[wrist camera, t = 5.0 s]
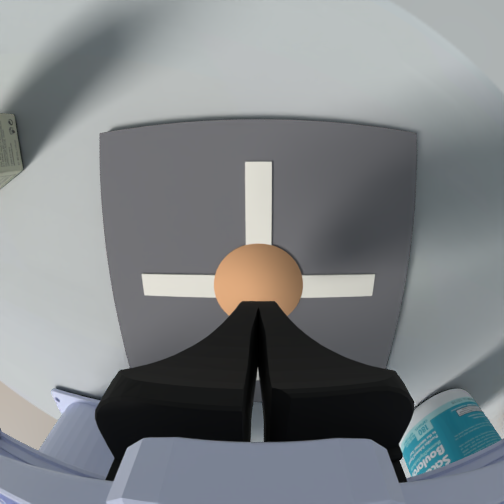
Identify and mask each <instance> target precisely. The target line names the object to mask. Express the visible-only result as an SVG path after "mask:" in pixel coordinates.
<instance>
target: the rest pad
mask: <svg viewBox="0 0 504 504" xmlns="http://www.w3.org/2000/svg"><path fill="white" fill-rule="evenodd" d="M416 167H417V136H416V133H413V132H407V131H401V130H395V129H389V128H382V127H374V126H366V125H357V124H348V123H337V122H324V121H308V120H283V119H235V120H210V121H194V122H181V123H170V124H160V125H152V126H143V127H136V128H129V129H122V130H116V131H110V132H104V133H100V182H101V200H102V213H103V224H104V234H105V243H106V251H107V258H108V265H109V272H110V278H111V284H112V290H113V296H114V301H115V306H116V311H117V316H118V321H119V325H120V330H121V334H122V338H123V343H124V347H125V351H126V355H127V358H128V362H129V366H130V368H134V367H138V366H142V365H147V364H150V363H154V362H157V361H160V360H163V359H165V358H168V357H170V356H173V355H175V354H177V353H179V352H181V351H183V350H185V349H187V348H189V347H191V346H193V345H195V344H197V343H198V342H200V341H201V340H203V339H204V338H206V337H207V336H208V335H210V334H211V333H212V332H213V331H214V330H215V329H217V328H218V327H219V326H220V325H221V324H222V323H223V322H224V321H225V320H226V319H227V318H228V317H229V316H230V314H231V313H232V312H233V311H234V310H235V309H236V307H237V306H238V305H239V303H240V302H242V301H275V302H276V303H277V304H278V305H279V307H280V308H281V309H282V310H283V312H284V313H285V314H286V315H287V316H288V318H289V319H290V320H291V321H292V322H293V323H294V324H295V325H296V326H297V327H298V328H299V329H301V330H302V331H303V332H304V333H305V334H306V335H308V336H309V337H310V338H312V339H313V340H315V341H316V342H318V343H319V344H321V345H322V346H324V347H326V348H328V349H330V350H332V351H334V352H336V353H338V354H340V355H342V356H344V357H347V358H349V359H352V360H355V361H357V362H360V363H363V364H366V365H370V366H374V367H379V368H383V369H386V366H387V362H388V358H389V355H390V351H391V347H392V343H393V339H394V335H395V331H396V327H397V322H398V318H399V313H400V308H401V303H402V298H403V293H404V288H405V282H406V276H407V270H408V263H409V256H410V248H411V240H412V231H413V221H414V209H415V193H416ZM253 402H262V397H261V389H260V381H259V372H258V371H257V378H256V386H255V393H254V400H253Z"/></svg>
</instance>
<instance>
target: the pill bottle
mask: <svg viewBox="0 0 504 504" xmlns="http://www.w3.org/2000/svg"><path fill="white" fill-rule="evenodd" d="M500 440H502V439H501V438H500V436H499V435H498V433H497V432H496V430H495V429H494V427H493V426H492V424H491V423H490V421H489V420H488V418H487V417H486V416H485V414H484V413H483V411H482V410H481V409H480V407H479V406H478V404H477V403H476V402H475V400H474V399H473V398H472V396H471V395H470V394H469V393H468V392H467V391H465V390H463V389H450V390H447V391H444V392H441V393H439V394H437V395H435V396H433V397H431V398H430V399H428V400H426V401H425V402H424V403H422V404H421V405H420V406H418V407H417V408H416V409H415V410H414V413H413V416H412V419H411V421H410V423H409V426H408V428H407V430H406V431H405V433H404V435H403V437H402V439H401V441H400V443H399V446H400V448H401V451H402V453H403V457H404V459H405V462H406V464H407V467H408V469H409V472H410V474H411V477H413V476H416V475H419V474H423V473H426V472H429V471H431V470H434V469H437V468H440V467H443V466H445V465H448V464H450V463H453V462H455V461H458V460H460V459H463V458H465V457H467V456H470V455H472V454H474V453H476V452H478V451H480V450H483V449H485V448H487V447H489V446H491V445H493V444H495V443H497V442H498V441H500Z"/></svg>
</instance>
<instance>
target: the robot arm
mask: <svg viewBox="0 0 504 504" xmlns="http://www.w3.org/2000/svg"><path fill="white" fill-rule="evenodd" d="M257 371H258V372H259V381H260V389H261V397H262V406H263V416H264V442H250V439H251V416H252V407H253V400H254V393H255V386H256V378H257ZM51 394H52V396H53V398H54V400H55V402H56V404H57V406H58V408H59V410H60V412H61V414H62V415H61V417H60V418H59V420H58V421H57V423H56V424H55V426H54V427H53V429H52V430H51V432H50V433H49V435H48V436H47V438H46V439H45V441H44V442H43V444H42V446H41V447H40V449H39V450H36V449H34V448H32V447H29V446H28V445H26V444H24V443H22V442H20V441H18V440H16V439H14V438H12V437H10V436H9V435H7V434H5V433H3V432H2V431H1V429H0V504H504V439H502V440H500V441H498V442H497V443H495V444H493V445H491V446H489V447H487V448H485V449H483V450H480V451H478V452H476V453H474V454H472V455H470V456H467V457H465V458H463V459H460V460H458V461H455V462H453V463H450V464H448V465H445V466H443V467H440V468H437V469H434V470H431V471H429V472H426V473H423V474H419V475H416V476H413V477H410V478H406V477H405V474H404V471H403V469H402V466H401V464H400V461H399V460H401V459H402V457H403V453H402V451H401V448H400V446H399V443H400V441H401V439H402V437H403V435H404V433H405V431H406V430H407V428H408V426H409V423H410V421H411V419H412V416H413V413H414V401H413V399H412V397H411V396H410V394H409V392H408V390H407V388H406V386H405V384H404V383H403V381H402V380H401V378H400V377H399V376H398V374H397V373H396V371H392V370H388V369H383V368H379V367H374V366H370V365H366V364H363V363H360V362H357V361H355V360H352V359H349V358H347V357H344V356H342V355H340V354H338V353H336V352H334V351H332V350H330V349H328V348H326V347H324V346H322V345H321V344H319V343H318V342H316V341H315V340H313V339H312V338H310V337H309V336H308V335H306V334H305V333H304V332H303V331H302V330H301V329H299V328H298V327H297V326H296V325H295V324H294V323H293V322H292V321H291V320H290V319H289V318H288V316H287V315H286V314H285V313H284V312H283V310H282V309H281V308H280V307H279V305H278V304H277V303H276V302H275V301H242V302H240V303H239V305H238V306H237V307H236V309H235V310H234V311H233V312H232V313H231V314H230V316H229V317H228V318H227V319H226V320H225V321H224V322H223V323H222V324H221V325H220V326H219V327H218V328H217V329H215V330H214V331H213V332H212V333H211V334H210V335H208V336H207V337H206V338H204V339H203V340H201V341H200V342H198V343H197V344H195V345H193V346H191V347H189V348H187V349H185V350H183V351H181V352H179V353H177V354H175V355H173V356H170V357H168V358H165V359H163V360H160V361H157V362H154V363H150V364H147V365H142V366H138V367H134V368H129V369H124V370H120V371H119V372H118V374H117V375H116V376H115V378H114V379H113V380H112V382H111V384H110V385H109V387H108V389H107V390H106V392H105V394H104V395H103V397H102V399H101V400H96V399H92V398H88V397H84V396H80V395H76V394H73V393H69V392H65V391H62V390H59V389H55V388H53V389H52V391H51Z"/></svg>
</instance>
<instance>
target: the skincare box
mask: <svg viewBox="0 0 504 504" xmlns="http://www.w3.org/2000/svg"><path fill="white" fill-rule="evenodd" d="M22 170H23V165H22V160H21V155H20V148H19V142H18V136H17V129H16V123H15V116H14V114H5V113H0V189H1V188H2V187H3V186H4V185H6V184H7V183H8V182H9V181H10V180H12V179H13V178H14V177H15V176H16V175H17V174H19V173H20V172H21V171H22Z"/></svg>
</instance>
